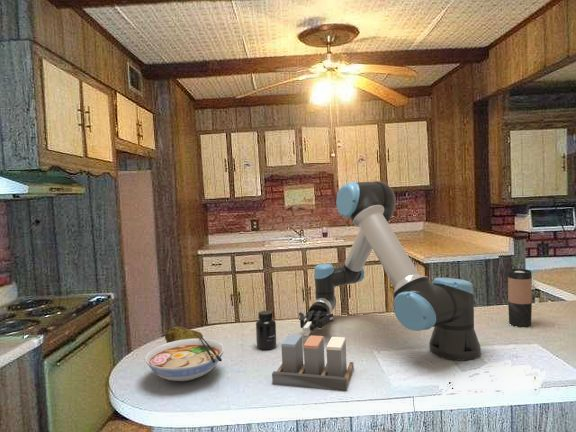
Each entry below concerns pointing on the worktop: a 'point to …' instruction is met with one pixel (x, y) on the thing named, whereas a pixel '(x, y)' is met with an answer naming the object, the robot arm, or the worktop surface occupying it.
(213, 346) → the ramen bowl
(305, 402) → the worktop surface
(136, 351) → the worktop surface
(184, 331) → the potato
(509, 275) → the travel mug
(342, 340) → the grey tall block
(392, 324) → the worktop surface
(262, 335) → the supplement bottle
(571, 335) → the worktop surface
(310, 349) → the terracotta key
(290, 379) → the key bed
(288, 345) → the slate key
